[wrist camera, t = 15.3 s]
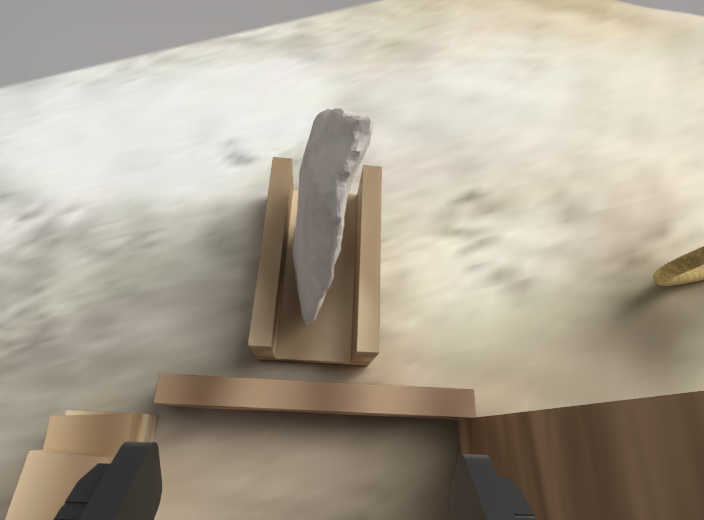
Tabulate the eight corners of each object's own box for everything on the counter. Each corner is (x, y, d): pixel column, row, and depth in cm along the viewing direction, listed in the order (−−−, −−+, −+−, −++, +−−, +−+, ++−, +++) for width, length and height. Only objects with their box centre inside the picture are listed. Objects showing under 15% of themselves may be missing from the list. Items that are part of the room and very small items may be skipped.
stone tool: (288, 211, 30) (272, 18, 16) (334, 208, 30) (356, 18, 17) (298, 341, 27) (288, 237, 13) (349, 336, 27) (393, 230, 13)
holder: (257, 359, 27) (247, 345, 23) (277, 194, 31) (272, 157, 27) (368, 365, 27) (379, 352, 23) (372, 201, 32) (381, 166, 28)
